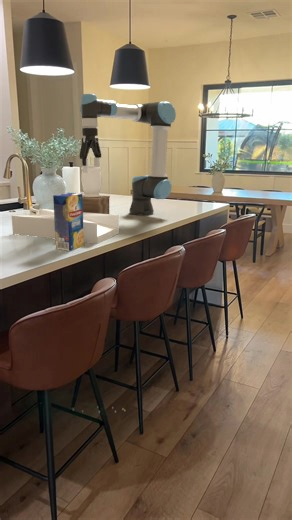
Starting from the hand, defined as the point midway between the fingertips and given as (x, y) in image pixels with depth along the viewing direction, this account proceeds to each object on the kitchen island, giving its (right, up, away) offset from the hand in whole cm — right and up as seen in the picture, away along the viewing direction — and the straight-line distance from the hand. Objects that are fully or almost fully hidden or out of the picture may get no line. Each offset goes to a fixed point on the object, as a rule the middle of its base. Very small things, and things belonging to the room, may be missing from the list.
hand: (91, 171), depth 208 cm
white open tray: (-10, -33, -11) cm, 37 cm away
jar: (0, -12, +4) cm, 13 cm away
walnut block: (-1, -27, +7) cm, 28 cm away
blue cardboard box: (-4, -40, -36) cm, 54 cm away
